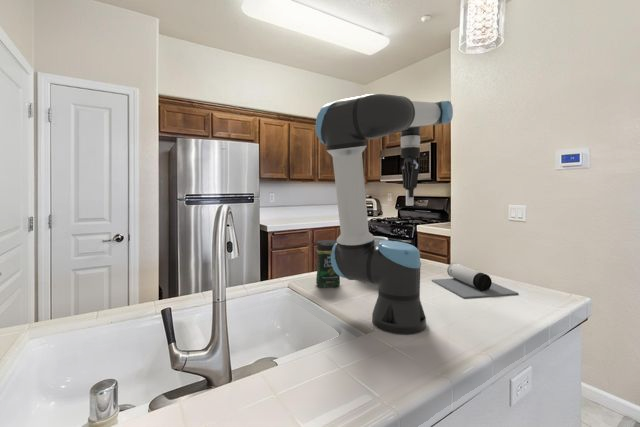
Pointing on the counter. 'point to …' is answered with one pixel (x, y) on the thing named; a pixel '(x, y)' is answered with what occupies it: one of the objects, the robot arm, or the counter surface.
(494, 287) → the mat
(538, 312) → the counter surface
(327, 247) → the coffee jar
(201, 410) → the counter surface
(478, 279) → the travel mug
